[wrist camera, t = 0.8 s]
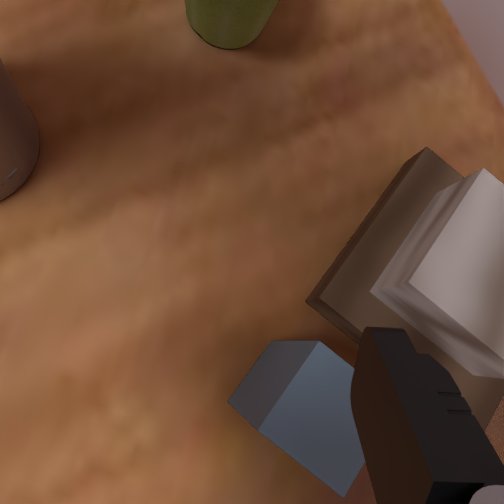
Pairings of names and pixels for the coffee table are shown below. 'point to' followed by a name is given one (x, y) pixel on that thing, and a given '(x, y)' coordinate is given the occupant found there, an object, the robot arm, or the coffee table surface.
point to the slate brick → (305, 408)
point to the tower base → (371, 260)
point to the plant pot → (229, 20)
